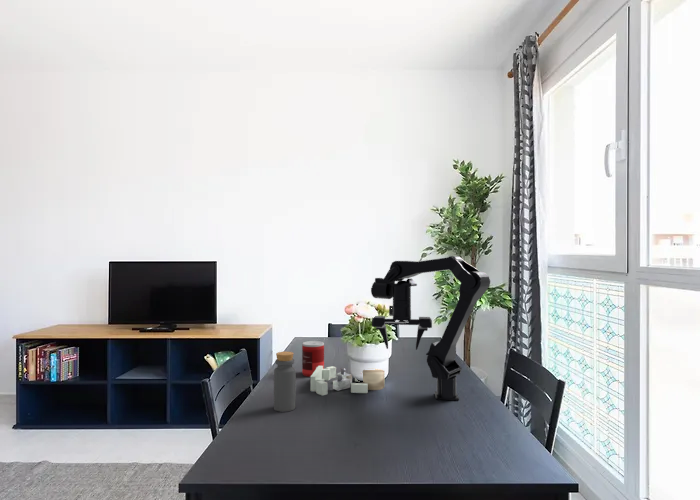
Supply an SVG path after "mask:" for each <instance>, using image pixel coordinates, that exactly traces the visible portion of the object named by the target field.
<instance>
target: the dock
mask: <svg viewBox="0 0 700 500" xmlns="http://www.w3.org/2000/svg"><path fill="white" fill-rule="evenodd" d="M331 379H337V367H336V366H327V367H325V368H324V369H323V366H318V367H317V368H316V370H315V371H314V373H313V374H312V375H311V377H310V389H309V390H310V392H316V394H317V395H319V396H326V395H328V381H330V380H331ZM326 381H327V382H326ZM356 382H358V383H356ZM368 391H369V390H368V384H365V383H363V382H359V381H358V380H357V379H356V378H355V377H354V382H352V383H350V393H352V394H353V393H354V394H368Z"/></svg>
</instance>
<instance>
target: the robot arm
mask: <svg viewBox="0 0 700 500" xmlns="http://www.w3.org/2000/svg"><path fill="white" fill-rule="evenodd" d="M389 266H390V267H389V269H388V270H387V273H386V274H385V276H384V278H383V277H375V278H374V282H373V283H372V285H371V287H370V293H371V296H372V297H373V298H374V299H382V300H383V299H385V300H391V299H392V305H388V307H389V308H388V316H389V317H392V318H386V316H384V315H375V317H374V316H373V317H374V318H373V317H372V319H371V327H372V328H375V330H379V333H380V335H381V337H382V340H383V342H384V344H385V348H386V349H387V350H389V340H388V339H389V338H388V332H387V325H388V326H389V325H392V326H393V325H397V326H399V325H400V326H401V325H402V326H403V325H404V326H417V331H416V332H417V333H416V339H415V340H416V341H415V350H416V351H417V350H418V349H419V344H420V342H421V339H422V337H423V335H424V333H425V332H427V331H429V330H428V329H433V322H432V320H433V319H432V318H431V317H430V316H418V319H416V318H412V310H411V309H412V304H411V303H412V300H411V299H412V295H411V293H412V292H411V291H412V290H411V289H412V288H411V287H417V286H418V284H417V283H416V281H414V280H413V278H414V277H416V276H418V275H421V274H425V273H427V274H428V273H434V272H442V271H443V272H444V271H450V272H451V273H452V275H453V276H454V277H455V279H456V280H457V281H458V282H459V283H460V285H459V298H458V300H457V303H456V305H455V307H454V309H453V312H452V314H451V316H450V318H449V321H448V322H447V325H446V327H445V329H444V332H443V334H442V337H441V339H440V340H437V341H435V342H431V344H430V346H429V349H428V351H427V353H426V354H425V356H426V363H427V366H428V368H429V370H430V372H431V376H432V378H434V379H436V391H434V395H435V399H436V400H441V401H442V400H445V401H446V400H447V401H459V400H460V397H459V396H458V393H457V376H458V375H461V372H462V368H463V367H462V366H461V365H460V364H459V363H458V362H457V360H456V356H457V355H456V354H457V344H458V341H459V339H460V337H461V335H462V333H463V331H464V328H465V326H466V324H467V322H468V320H469V317H470V315H471V313H472V311H473V308H474V306H475V304H476V303H477V302H478V301H479V300H480V299H481V298H482V296H484V295H485V294H486V291H487V290H488V289H489V287H490V285H491V279H490V276H489V275H488V274H487V273H486V272H484V271H482V270H481V271H480V270H479V269H477V268H476V267H475V266H473V265H471V264H470V263H468V262H467V261H465V260H464V259H463V258H462V257H461V256H459V255H458V256H457V255H455V256H453V255H452V256H451V255H449V256H447V257H443V258H442V257H441V258H434V259H429V260H428V259H426V260H421V261H419V260H418V261H415V260H413V261H412V260H395V261H394V260H393V262H391V264H390V265H389ZM391 308H392V309H391Z"/></svg>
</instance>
